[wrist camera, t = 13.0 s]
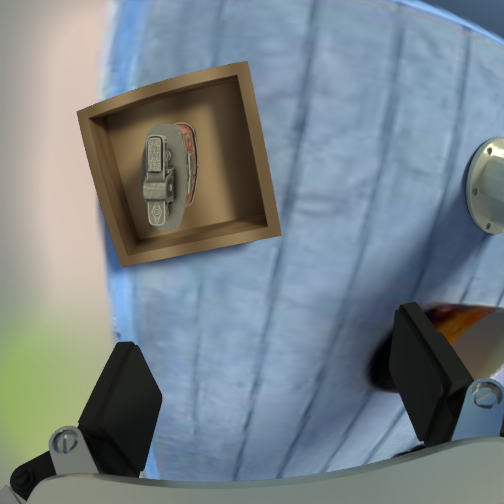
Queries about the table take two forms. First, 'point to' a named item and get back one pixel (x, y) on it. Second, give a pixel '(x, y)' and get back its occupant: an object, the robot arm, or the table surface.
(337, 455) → the table surface
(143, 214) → the walled box
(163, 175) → the lighter
